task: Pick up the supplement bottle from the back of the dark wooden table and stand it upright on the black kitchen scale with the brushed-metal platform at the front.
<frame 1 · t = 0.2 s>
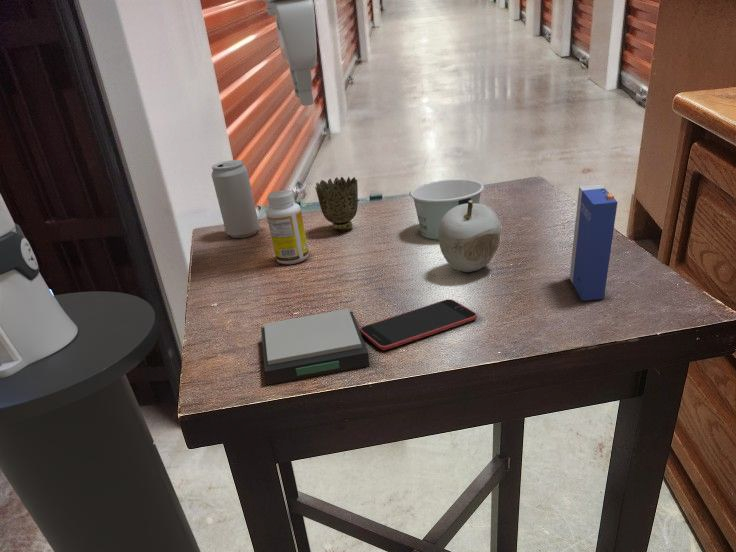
hand: (304, 100, 92), 21 cm above the table, tool pointing down, fingers open, 8 cm apart
walkman: (585, 290, 81), on the table
cup: (342, 231, 111), on the table
smartphone: (418, 327, 78), on the table
decorative object: (469, 271, 90), on the table
scale: (314, 352, 75), on the table
beverage can: (244, 234, 116), on the table
supplement bottle: (293, 260, 102), on the table
food container: (448, 231, 105), on the table
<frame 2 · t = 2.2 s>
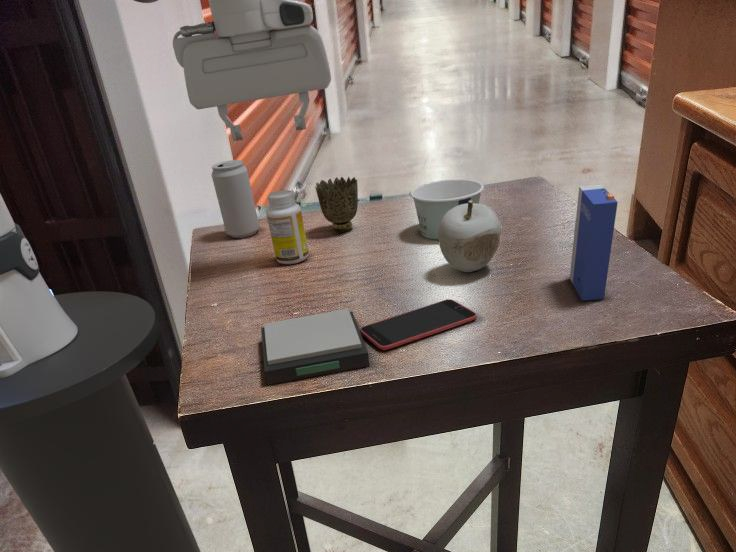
hand: (269, 134, 90), 18 cm above the table, tool pointing down, fingers open, 8 cm apart
nothing on the table moved.
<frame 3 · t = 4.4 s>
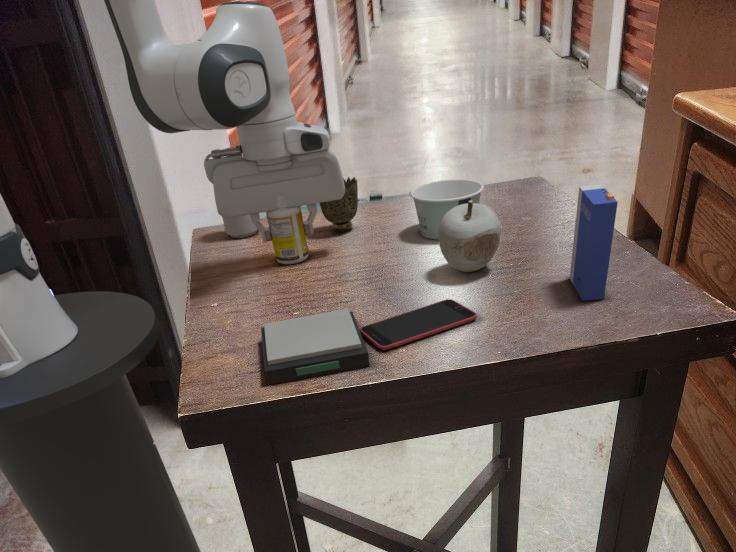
hand: (288, 236, 100), 4 cm above the table, tool pointing down, fingers closed on supplement bottle, 5 cm apart
supplement bottle: (293, 260, 102), on the table, touching gripper
everything else where it was.
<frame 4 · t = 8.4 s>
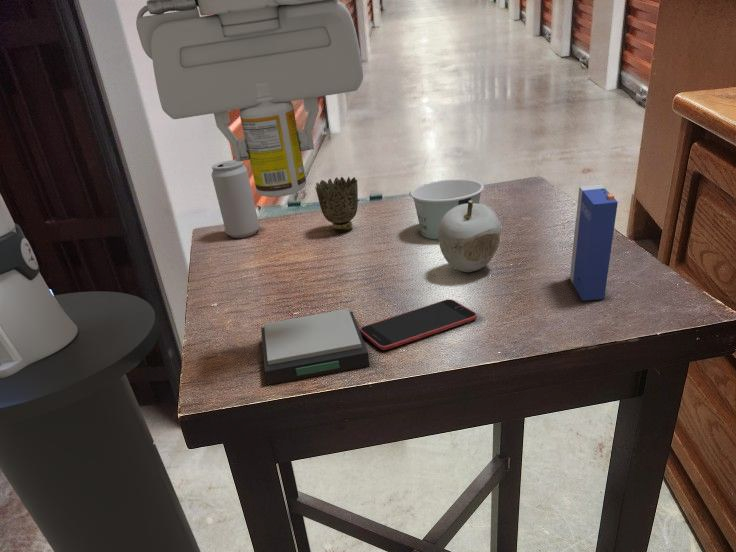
hand: (275, 154, 65), 21 cm above the table, tool pointing down, fingers closed on supplement bottle, 5 cm apart
supplement bottle: (282, 193, 67), point 17 cm above the table, touching gripper
everything else where it was.
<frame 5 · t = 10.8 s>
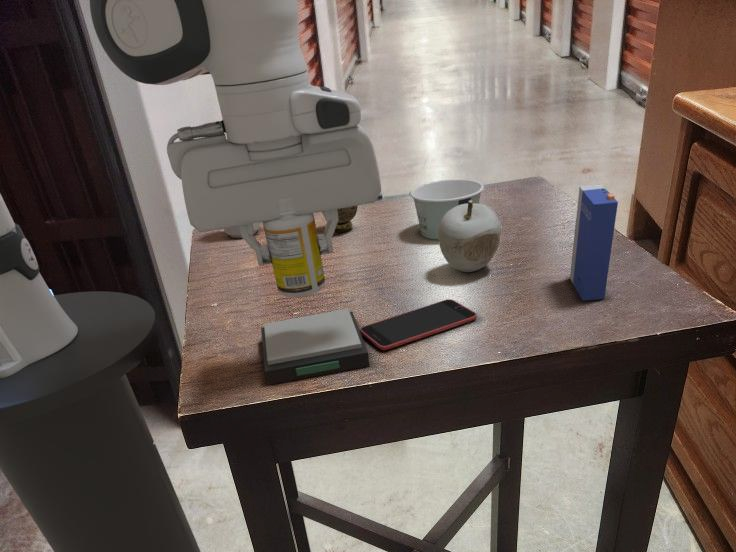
hand: (296, 257, 68), 12 cm above the table, tool pointing down, fingers closed on supplement bottle, 5 cm apart
supplement bottle: (302, 291, 70), point 8 cm above the table, touching gripper
everything else where it was.
when the fingers open (6 cm above the table, at t = 12.7 s): supplement bottle stays where it is, resting on scale.
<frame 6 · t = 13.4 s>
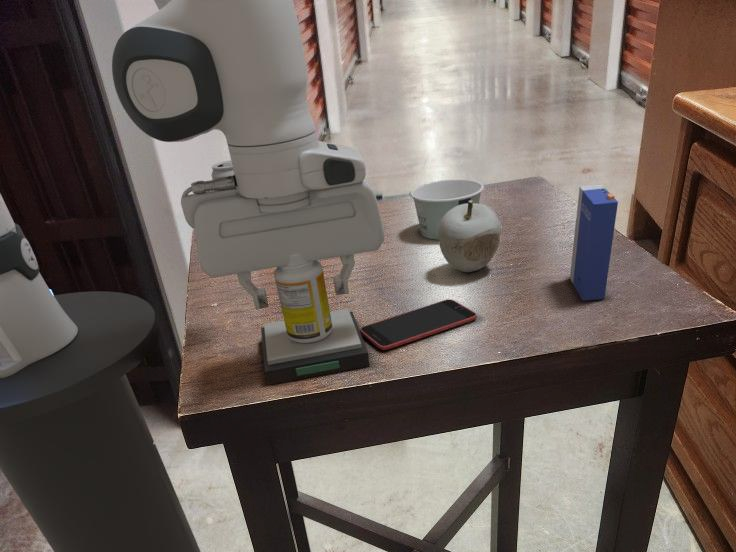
hand: (302, 300, 71), 7 cm above the table, tool pointing down, fingers open, 8 cm apart
supplement bottle: (310, 335, 74), point 2 cm above the table, touching scale
everything else where it was.
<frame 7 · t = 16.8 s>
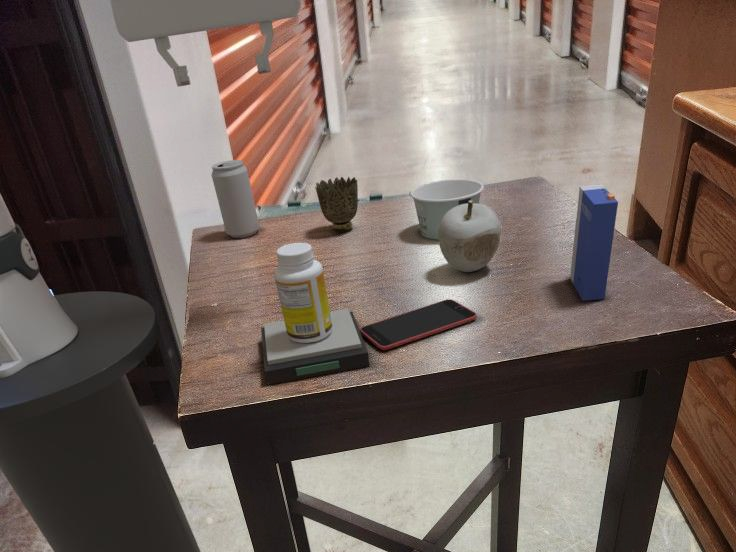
hand: (224, 79, 71), 27 cm above the table, tool pointing down, fingers open, 8 cm apart
nothing on the table moved.
at the end: supplement bottle inside the target area on the scale (0.1 cm from its centre), point 2.2 cm above the scale's base; supplement bottle tilted 0°; the gripper is holding nothing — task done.
